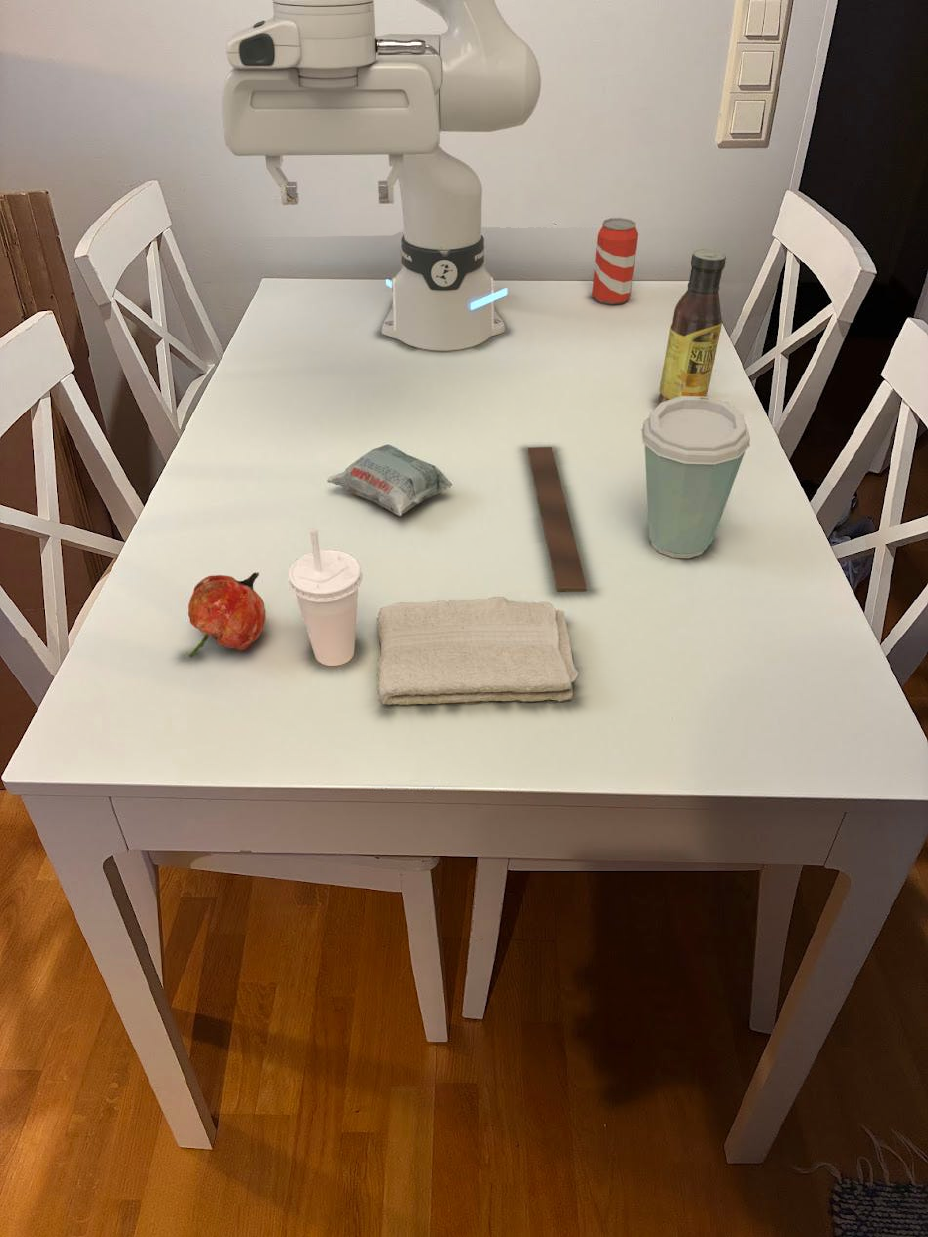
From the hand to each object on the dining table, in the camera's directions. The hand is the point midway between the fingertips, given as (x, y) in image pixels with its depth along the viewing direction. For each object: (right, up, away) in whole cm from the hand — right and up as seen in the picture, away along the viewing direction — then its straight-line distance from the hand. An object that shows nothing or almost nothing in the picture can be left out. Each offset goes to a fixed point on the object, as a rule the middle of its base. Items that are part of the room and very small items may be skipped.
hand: (338, 202), depth 92 cm
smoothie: (0, -45, -5) cm, 45 cm away
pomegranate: (-10, -44, -4) cm, 45 cm away
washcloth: (+13, -45, -6) cm, 48 cm away
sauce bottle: (+42, -13, +33) cm, 54 cm away
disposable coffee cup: (+35, -33, +9) cm, 49 cm away
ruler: (+23, -29, +13) cm, 39 cm away
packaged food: (+4, -28, +15) cm, 32 cm away
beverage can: (+37, +11, +61) cm, 72 cm away
